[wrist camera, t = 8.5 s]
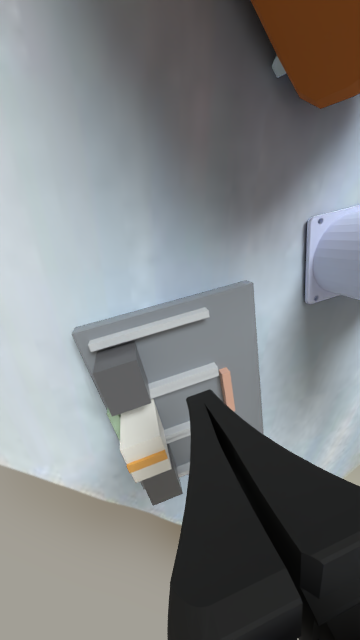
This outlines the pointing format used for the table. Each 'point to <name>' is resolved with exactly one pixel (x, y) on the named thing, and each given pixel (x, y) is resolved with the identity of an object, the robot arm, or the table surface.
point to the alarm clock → (315, 46)
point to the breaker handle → (143, 442)
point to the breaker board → (177, 366)
